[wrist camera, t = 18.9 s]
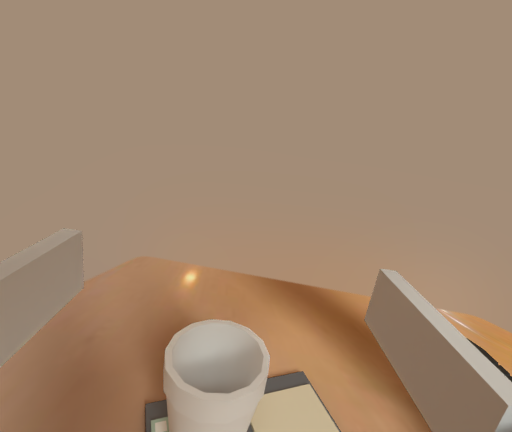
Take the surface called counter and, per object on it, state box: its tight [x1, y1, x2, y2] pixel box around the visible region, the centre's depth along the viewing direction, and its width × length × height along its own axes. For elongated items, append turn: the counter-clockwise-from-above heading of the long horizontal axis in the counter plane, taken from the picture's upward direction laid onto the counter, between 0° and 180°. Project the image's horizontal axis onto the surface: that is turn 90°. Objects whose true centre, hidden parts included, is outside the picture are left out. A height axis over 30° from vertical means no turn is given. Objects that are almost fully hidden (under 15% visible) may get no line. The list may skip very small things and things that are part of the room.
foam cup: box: [163, 319, 270, 432], centre depth 27 cm, size 10×9×13 cm
